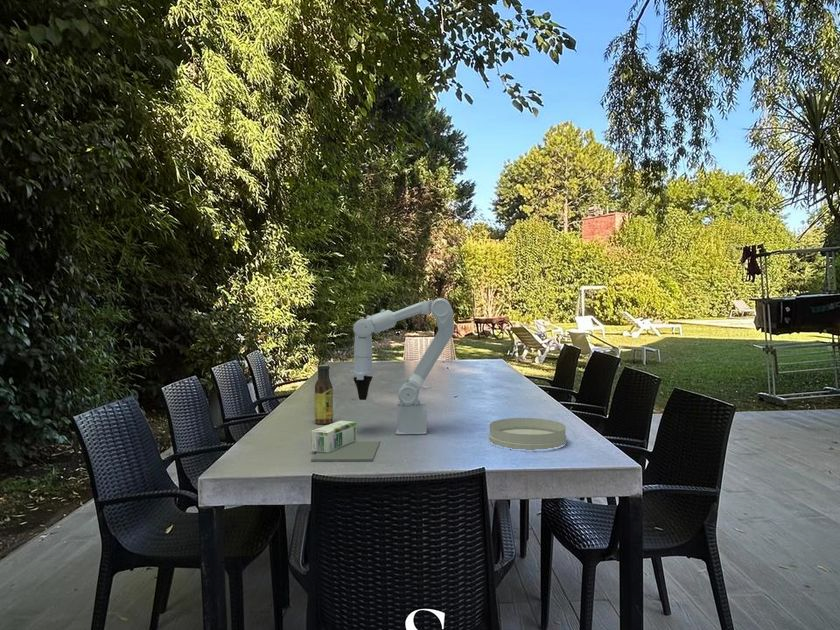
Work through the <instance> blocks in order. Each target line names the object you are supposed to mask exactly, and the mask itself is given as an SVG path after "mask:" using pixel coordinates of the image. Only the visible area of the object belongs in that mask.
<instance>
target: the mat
mask: <svg viewBox="0 0 840 630" xmlns="http://www.w3.org/2000/svg"><path fill="white" fill-rule="evenodd" d="M380 444H381V441H377V440H375V441H369V440H368V441H354V442H352V443H349V444H347V445H345V446H342V447H340V448H338V449H336V450H333V451H331V452H328V453H326V452H318V451H316V453H314V455H313V456H312V457H311V459H310V462H311V461H323V462H325V463H329V462H331V463H332V462H333V463H334V462H335V463H338V462H339V463H341V462H342V463H343V462H344V463H345V462H354V463H355V462H357V463H359V462H373V461H374V459H375V456H376V454H377V451H378V449H379V447H380ZM323 462H322V463H323Z"/></svg>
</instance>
